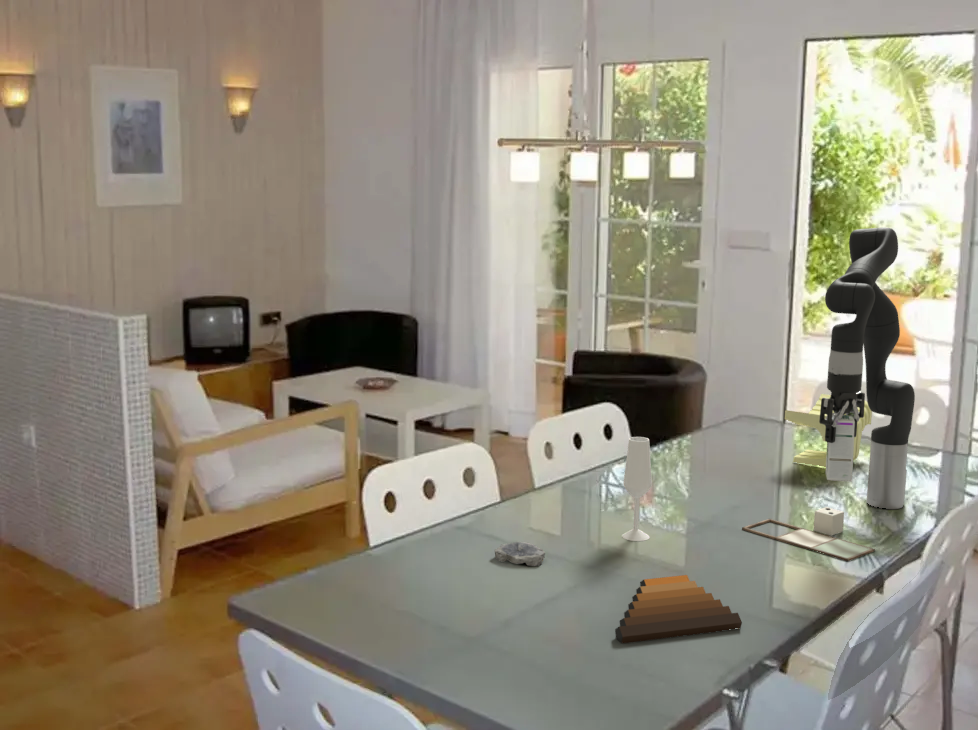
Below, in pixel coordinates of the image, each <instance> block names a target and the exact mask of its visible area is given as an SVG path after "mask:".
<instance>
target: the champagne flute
mask: <svg viewBox="0 0 978 730" xmlns="http://www.w3.org/2000/svg"><path fill="white" fill-rule="evenodd" d="M627 445H628V446H627V454H626V459H625V461H626V462H625V469H624V477H623V486H624V489H625V490H626V491H627V493H628V494H629V495H630V496H631V497H633V498H634V507H633V508H634V509H633V528H632V529H630V530H628V531H626V532H625V533H622V535H621V538H623V539H624V540H627V541H631V542H643V541H647V540H649V539H650V538H651V537H650V535H649V534H647V533H646V532H645V531H642V530H641V529H639V524H640V523H639V521H640V519H639V518H640V498H642V497H644V496H645V495H646V494H647V493H648V492H649V491H650V489H651V488H652V485H653V482H652V465H651V447H650V445H651V444H650V439H649V438H648V437H644V436H632V437H629V438H628V444H627Z"/></svg>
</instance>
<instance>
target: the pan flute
mask: <svg viewBox="0 0 978 730" xmlns="http://www.w3.org/2000/svg"><path fill="white" fill-rule="evenodd" d="M635 591H636V594H634V595H633V596H632V598H631V599H632V601H631V602H630V603H628V606H627V607H628V609H627V610H626V611H624V612H623V615H624V617H623V618H621V620H619V626H618V627H616V628H615V630H614V631H615V632H614V634H615V639H616V640H617V641H618V642H619V643H620V644H629V643H638V642H645V641H653V640H662V639H670V637H671V638H677V636H679V637H684V636H683V635H687V636H694V635H693V634H695V635H701V634H700V633H703V634H710V633H709V632H711V633H717V632H716V631H720V632H723V631H722V630H728V631H730V630H729V629H735V628H740V629H741V628H742V624H743V622H742V619H741V617H740V614H739V613H738V612H732V610H731V608H730V606H729V605H725V606H723V605H724V604H722V601H721V599H720V598H719V599H714V596H713V594H712V592H709V593H708V592H707V593H706V590H705V588H704V586H698V585H697V583H696V580H690V578H689V576H688V574H685V575H684V574H682V575H673V576H666V577H665V576H664V577H656V578H655V577H654V578H647V579H642V580H641V581H640V582H639V587H638V588H636V589H635Z"/></svg>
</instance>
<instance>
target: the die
mask: <svg viewBox="0 0 978 730" xmlns="http://www.w3.org/2000/svg"><path fill="white" fill-rule="evenodd" d="M813 517H814V518H813V519H814V520H813V531H814V532H818V533H821V534H825V535H828V536H832V537H833V536H835V535H837V534H840V533H843V531H844V519H845V511H842V510H839V509H835V508H831V507H827V506H826V507H825V506H824V507H822V508H820V509H817V510H814V516H813Z"/></svg>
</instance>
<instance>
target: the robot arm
mask: <svg viewBox="0 0 978 730" xmlns="http://www.w3.org/2000/svg"><path fill="white" fill-rule="evenodd" d="M898 240H899V239H898V235H897V233H896V231H895V229H893V228H890V227H887V226H884V227H873V228H871V227H870V228H857V229H853V230H852V231H851V232H850V235H849V239H848V241H849V242H848V246H849V247H848V248H849V250H848V251H849V254H850V261H851V264H850V265H849V266H848V268H847V269H846V271H845V273H844V274H843V275H841V276H839V277H838V278H837V279H835V280H833V281H832V282H831V283H830V285H829V286H828V288H827V289H826V292H825V295H824V296H825V297H824V301H825V305H826V307H827V309H828V310H829V311H830V312H832V313H835V314H842V315H843V314H844V315H845V314H846V315H855V318H854V320H853V321H851V322H847V323H846V322H845V323H839V324H835V325H833V327H832V329H831V339H830V340H831V341H830V352H829V357H828V366H827V383H826V388H827V390H828V391H830V395H831V397H830V398H829V399H828V398H822V400H821V410H820V420H819V422H820V424H824V425H825V426H826V429H825V441H826V442H825V441H824V442H825V443H827V442H829V443H834V442H835V435H836V427H835V426H836V424H837V422H838V420H839V419H841V418H842V415H844V414H846V415H851V416H853V418H854V421H855V427H854V437H856V433H857V422H858V421H859V419H860V418H863V417H864V405H865V401H867V402H868V406H869V408H870V410H871V411H872V413H875V414H879V415H883V416H888V417H891V419H890V423H888V425H883V426H877V427H875V428H873V429H872V430H871V433H870V434H871V435H870V448H869V449H870V450H869V451H870V452H869V460H868V461H869V462H868V464H869V465H868V475H867V476H868V477H867V491H866V501H865V502H866V504H867V503H868V504H869V506H870V505H871V506H870V507H873V506H874V507H873V508H877V507H879V508H878V509H882V508H886V509H885V510H897V509H902V508H903V506H904V504H905V497H906V496H905V495H906V483H907V474H908V473H907V471H908V470H907V462H908V461H907V460H908V450H909V449H908V448H909V447H908V446H909V437H910V434H911V429H912V423H913V416H914V415H913V414H914V408H915V397H916V396H915V394H916V393H915V389H914V387H913V386H912V384H910V383H908V382H905V381H904V382H903V381H897V380H892V379H888V378H887V373H886V364H887V361H888V358H889V357H890V355H891V353H892V352H893V350H894V349H895V347H896V345H897V344H898V342H899V339H900V334H901V328H900V320H899V311H898V310H897V308H896V305H895V304H894V302H893V301H892V300H891V299H890V298H889V296H888V295H887V293H885V292H884V291H883V290H882V289H881V287H880V286H878V284H877V280H878V279H879V277H880V276H881V275H882V274H883V273H884V272H885V271H886V270H887V269H889V268H890V266H891V265H893V263H894V262H895V260H896V259H897V256H898V251H899V241H898ZM863 352H864V353H863ZM863 354H864V355H863ZM864 359H865V360H864ZM864 361H865V362H864ZM864 363H865V381H866V382H865V385H866V386H865V389H866V392H861V391H862V386H863V385H862V383H863V371H864V370H863V368H864ZM865 393H866V394H865ZM865 399H866V400H865ZM857 407H859V408H860V412H859V411H858V408H857ZM833 411H834V413H833ZM825 414H827V417H826V419H824V418H825ZM832 418H834V419H833V421H832ZM868 504H867V505H868Z"/></svg>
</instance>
